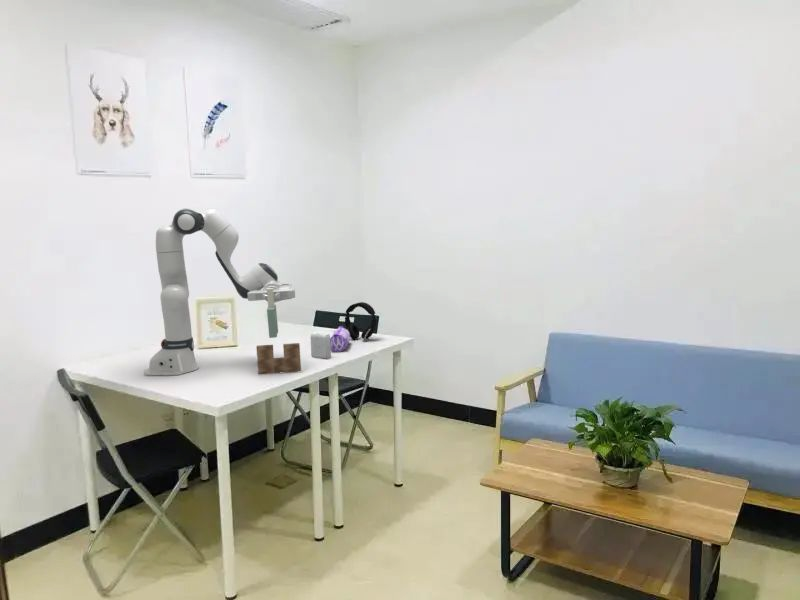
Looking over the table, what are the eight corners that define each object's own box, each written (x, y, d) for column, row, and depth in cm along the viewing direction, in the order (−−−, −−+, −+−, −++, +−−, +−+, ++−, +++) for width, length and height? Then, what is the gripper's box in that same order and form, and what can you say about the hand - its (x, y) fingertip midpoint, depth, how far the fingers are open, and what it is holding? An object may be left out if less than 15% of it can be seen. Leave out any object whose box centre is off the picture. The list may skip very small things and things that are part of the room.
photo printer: (332, 357, 291) (331, 331, 289) (326, 359, 287) (325, 333, 285) (316, 355, 296) (314, 329, 295) (309, 357, 293) (308, 331, 291)
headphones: (343, 340, 328) (341, 303, 325) (351, 337, 334) (349, 301, 331) (371, 343, 319) (370, 304, 316) (379, 340, 326) (378, 302, 323)
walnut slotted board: (258, 374, 265) (256, 346, 263) (258, 372, 267) (256, 345, 265) (300, 371, 267) (299, 344, 265) (300, 370, 269) (299, 343, 268)
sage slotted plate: (269, 337, 259) (265, 290, 256) (271, 332, 271) (267, 287, 268) (276, 337, 259) (272, 290, 256) (278, 331, 271) (274, 286, 268)
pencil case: (333, 343, 322) (332, 325, 320) (350, 342, 322) (350, 325, 320) (329, 353, 300) (328, 334, 298) (348, 352, 300) (347, 333, 299)
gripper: (248, 287, 273) (244, 291, 260) (294, 284, 276) (294, 287, 262) (249, 301, 274) (246, 306, 261) (296, 297, 277) (295, 302, 263)
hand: (270, 297), depth 261 cm, fingers closed on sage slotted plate, 2 cm apart
